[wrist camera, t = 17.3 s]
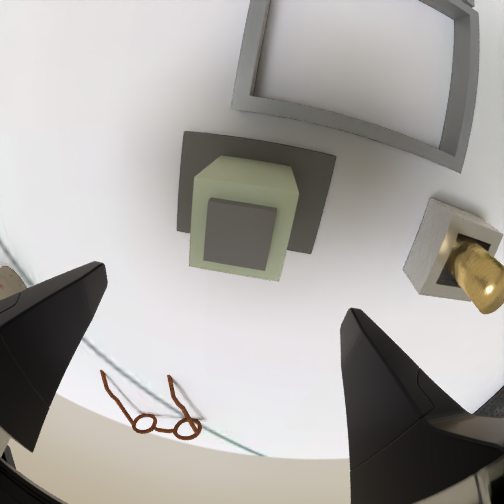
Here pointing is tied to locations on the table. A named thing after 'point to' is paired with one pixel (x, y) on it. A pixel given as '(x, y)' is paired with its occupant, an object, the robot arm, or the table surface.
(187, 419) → the glasses
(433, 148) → the case
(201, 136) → the mat
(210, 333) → the table surface
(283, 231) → the module
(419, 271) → the grey square socket block
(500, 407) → the storage bin
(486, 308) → the rod
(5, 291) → the thermos bottle
